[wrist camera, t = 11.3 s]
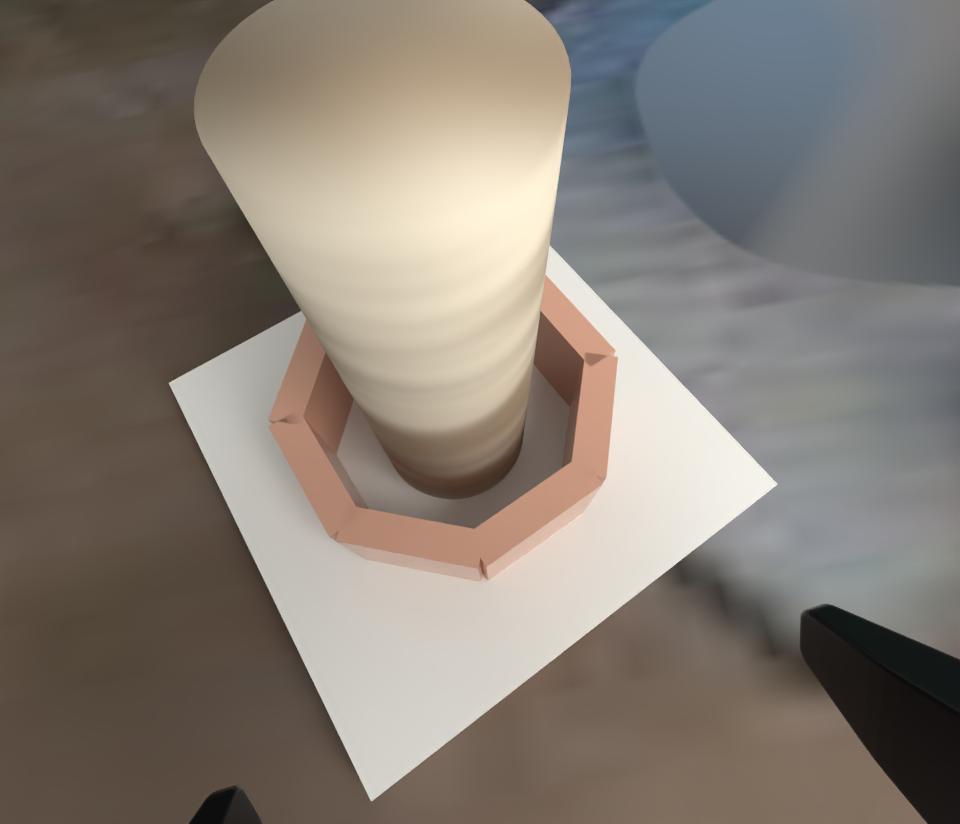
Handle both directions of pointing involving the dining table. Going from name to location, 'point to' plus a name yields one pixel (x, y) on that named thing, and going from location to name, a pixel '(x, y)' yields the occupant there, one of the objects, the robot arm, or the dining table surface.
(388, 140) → the beech peg
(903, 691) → the robot arm
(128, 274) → the dining table surface
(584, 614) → the octagonal ring base
